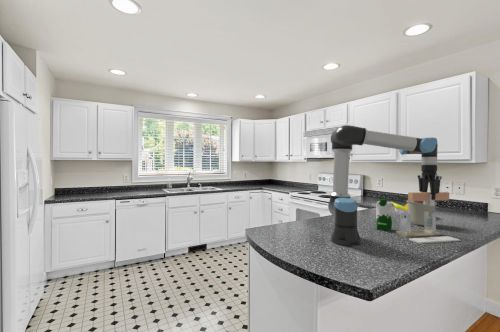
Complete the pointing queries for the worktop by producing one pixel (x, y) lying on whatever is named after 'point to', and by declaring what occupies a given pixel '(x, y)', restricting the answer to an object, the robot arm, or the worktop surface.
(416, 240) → the mat
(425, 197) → the rail
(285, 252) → the worktop surface
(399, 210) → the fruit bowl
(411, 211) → the canister
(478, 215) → the worktop surface
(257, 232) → the worktop surface
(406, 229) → the hook stand
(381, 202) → the milk carton
